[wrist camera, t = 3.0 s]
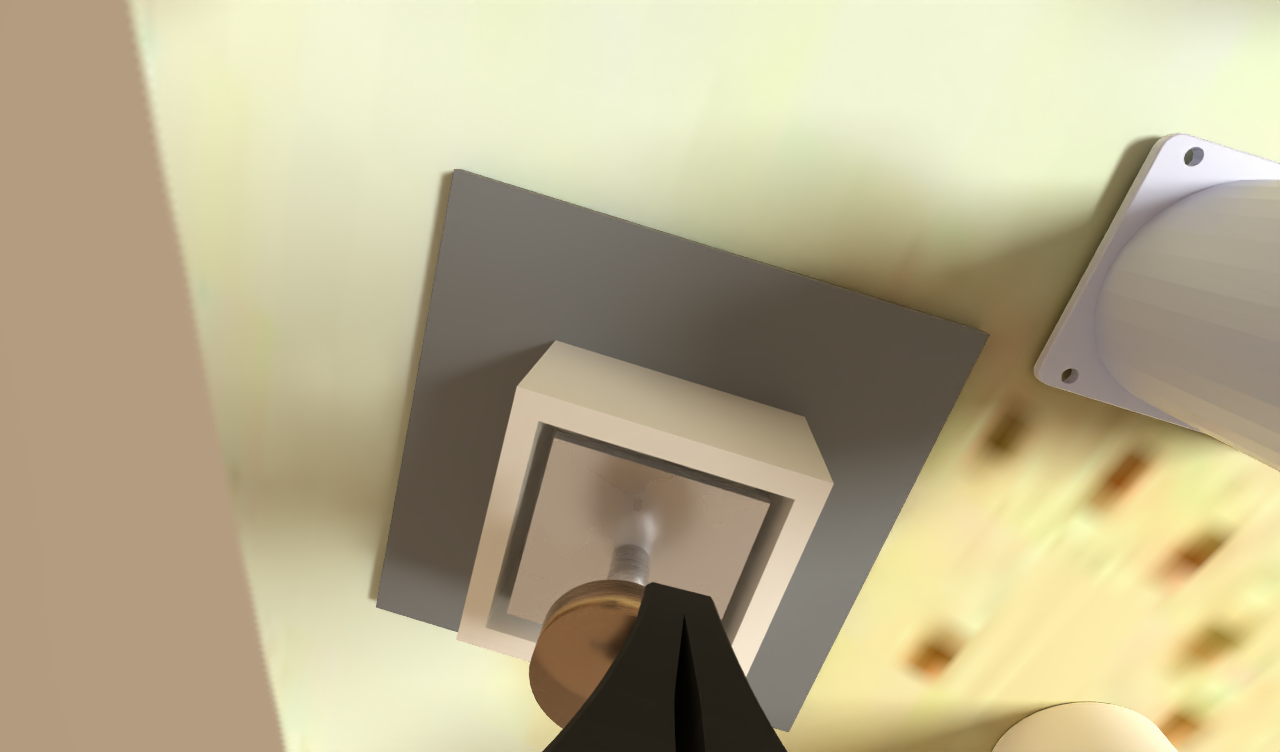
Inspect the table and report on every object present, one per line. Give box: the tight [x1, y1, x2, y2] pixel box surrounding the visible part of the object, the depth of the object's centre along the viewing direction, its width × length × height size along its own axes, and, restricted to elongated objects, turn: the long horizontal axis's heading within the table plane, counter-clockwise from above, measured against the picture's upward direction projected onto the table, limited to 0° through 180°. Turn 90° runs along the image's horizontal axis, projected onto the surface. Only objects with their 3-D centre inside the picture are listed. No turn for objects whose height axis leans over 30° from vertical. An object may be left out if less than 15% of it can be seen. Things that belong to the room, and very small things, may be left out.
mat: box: [376, 169, 989, 732], centre depth 23 cm, size 18×18×1 cm
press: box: [456, 340, 834, 676], centre depth 20 cm, size 9×9×5 cm
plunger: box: [507, 431, 770, 728], centre depth 16 cm, size 6×6×5 cm
